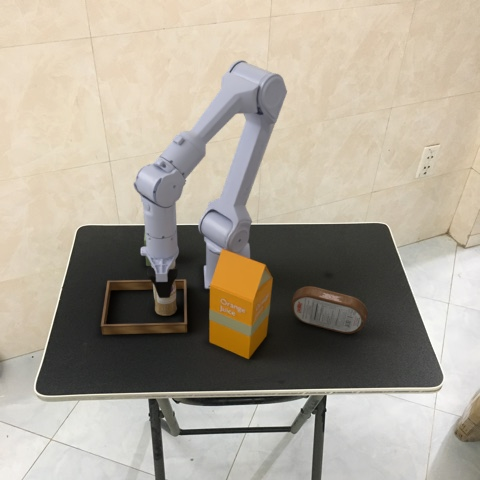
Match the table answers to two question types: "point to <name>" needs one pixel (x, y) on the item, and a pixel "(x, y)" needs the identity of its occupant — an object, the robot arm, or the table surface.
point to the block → (146, 256)
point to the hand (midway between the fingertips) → (164, 287)
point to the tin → (329, 310)
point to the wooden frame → (141, 327)
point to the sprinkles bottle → (166, 300)
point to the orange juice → (239, 303)
